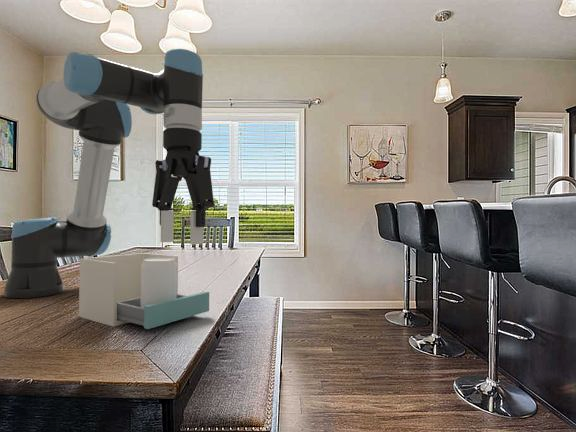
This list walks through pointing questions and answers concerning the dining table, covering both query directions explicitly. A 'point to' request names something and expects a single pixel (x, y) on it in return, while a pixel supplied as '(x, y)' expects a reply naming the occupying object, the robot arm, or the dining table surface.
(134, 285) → the white drawer cabinet
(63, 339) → the dining table surface
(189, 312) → the teal drawer
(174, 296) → the beverage can
